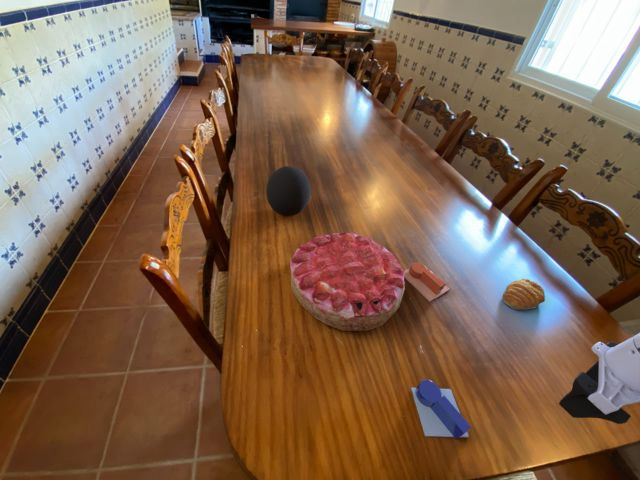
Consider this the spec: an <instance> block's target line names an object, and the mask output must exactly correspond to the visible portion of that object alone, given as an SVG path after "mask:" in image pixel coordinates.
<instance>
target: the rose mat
mask: <svg viewBox="0 0 640 480" xmlns="http://www.w3.org/2000/svg"><path fill="white" fill-rule="evenodd" d="M409 269H410V267H409V268H407V269H405V270H404V280H406V281H407V283H408V284H410V285H411V286H412V287H413V288H414V289H415V290H416V291H417V292H418V293H419V294H420V295H421V296H422V297H423V298H424V299H425V300H427V301H428V303H431V302H433V301H434V300H436V299H437V298H439V297H441V296H442V295H444V294H446V293H447V292H449V291H450V288H449V287H448V286H446V285H445V286H444V288H443V289H442V291H441V292H440V293H438V294H437V295H435V294H434V293H433V292H432V291H431V290H430V289H429V288H428V287H427V286H426V285H425V284H424V283H422V282H421V281H420V280H419V279H416V278H414V277H412V276H411V275H410V274H409Z"/></svg>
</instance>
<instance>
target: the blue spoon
mask: <svg viewBox="0 0 640 480" xmlns="http://www.w3.org/2000/svg"><path fill="white" fill-rule="evenodd" d="M415 388H416V396H417V399H418V400H419V401H420V403H422V404H423V405H424V406H426V407H431V409H432V410H433V412H434V413H435V414H436V415H437V416H438V418H439V419H440V420H441V421H442V423H443V424H444V425H445V426H446V428H447V429H448V430H449V431H450V433H451V434H452V435H453V436H454V437H453V438H454V439H455V440H458V438H460V436H462V435H463V434H465V433H466V432H467V433H468V431H469V430H470V429H471V428H472V426H471V424H470V423H469V422H468V421H467V420H466V419H465V417H464V416H463V415H462V414H461V412H460V411H459V412H460V413H459V412H458V411H457V410H456V409H455V407H454V406H453V405H452V404H451V403H450V402H449V400H448V399H447V398H446V397H445V396H443V397H442V394H441V391H440V389H441V388H440V387H439V386H438V385H437V384H436V383H435V382H434V381H432V380H430V379H423V380H421V381H420V383H418V385H417V386H416V387H415Z"/></svg>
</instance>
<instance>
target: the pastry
mask: <svg viewBox="0 0 640 480" xmlns="http://www.w3.org/2000/svg"><path fill="white" fill-rule="evenodd" d="M502 301H503V302H504V303H505V304H506V305H507V306H509V307H510V308H512V309H514V310H516V311H518V310H519V311H521V310H531V309H535V308H537V307H538V306H539V305H541V304H543V303H545V302H546V295H545V290H544V288H543V287H542V286H541V285H540V284H539V283H538V282H536V281H532V280H530V279H529V278H521V279H518V280H514V281H512V282H510V283H509V284H508V285H507V286H506V288H505V291H503V294H502Z"/></svg>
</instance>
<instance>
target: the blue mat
mask: <svg viewBox="0 0 640 480" xmlns="http://www.w3.org/2000/svg"><path fill="white" fill-rule="evenodd" d="M410 389H411V393H412V397H413V400H414V404H415V406H416V411H417V415H418V417H419V421H420V423H421V424H420V425H421V428H422V430H423V434H424V437H427V438H431V437H432V438H454V436H453V435H452V434H451V433H450V431H449V430H448V429H447V428H446V426H445V425H444V424H443V423H442V421H441V420H440V419H439V418H438V416H437V415H436V414H435V413H434V412H433V410H432V409H431V407H426V406H424V405H423V404H422V403H420V401H419V400H418V399H417V396H416V387H411V388H410ZM439 389H440V391H441V394H442V397H443V396H445V397H446V398H447V399H448V400H449V402H450V403H451V404H452V405H453V406H454V407H455V409H456V410H457V411H458V412H459V413H460V414H461V412H460V410H459V407H458V404H457V402H456V399H455V396H454V394H453V392H452V389H451V388H439ZM459 438H462V439H463V438H465V439H467V438H470V436H469V433H468V431H467V432H466V433H465V434H463V435H462V436H460V437H459Z"/></svg>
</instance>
